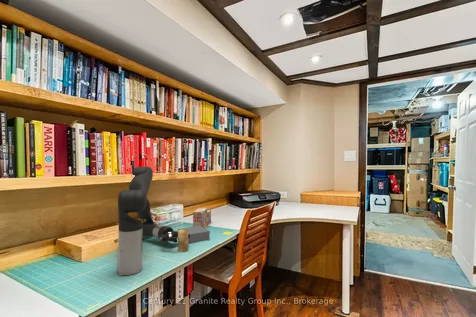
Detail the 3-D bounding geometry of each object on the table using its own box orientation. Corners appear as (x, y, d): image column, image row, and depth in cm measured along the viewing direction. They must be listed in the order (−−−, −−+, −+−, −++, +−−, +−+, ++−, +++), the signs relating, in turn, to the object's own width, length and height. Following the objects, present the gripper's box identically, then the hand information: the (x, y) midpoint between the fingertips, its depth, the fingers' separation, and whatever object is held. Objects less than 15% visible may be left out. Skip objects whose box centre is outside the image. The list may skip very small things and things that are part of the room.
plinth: (186, 244, 134) (186, 235, 134) (177, 237, 146) (177, 229, 146) (209, 239, 142) (209, 230, 142) (199, 233, 154) (199, 225, 154)
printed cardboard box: (202, 222, 182) (203, 205, 182) (211, 222, 181) (211, 206, 181) (192, 230, 161) (192, 211, 161) (202, 230, 160) (202, 212, 160)
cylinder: (180, 252, 122) (180, 232, 122) (176, 249, 126) (176, 230, 126) (189, 250, 125) (189, 230, 125) (185, 247, 129) (185, 228, 129)
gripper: (151, 228, 129) (172, 234, 120) (173, 223, 141) (193, 227, 131) (151, 243, 129) (172, 249, 120) (173, 236, 141) (193, 241, 131)
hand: (183, 238), depth 125 cm, fingers open, 8 cm apart
